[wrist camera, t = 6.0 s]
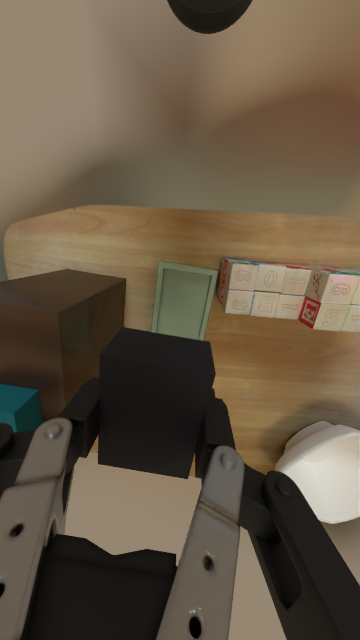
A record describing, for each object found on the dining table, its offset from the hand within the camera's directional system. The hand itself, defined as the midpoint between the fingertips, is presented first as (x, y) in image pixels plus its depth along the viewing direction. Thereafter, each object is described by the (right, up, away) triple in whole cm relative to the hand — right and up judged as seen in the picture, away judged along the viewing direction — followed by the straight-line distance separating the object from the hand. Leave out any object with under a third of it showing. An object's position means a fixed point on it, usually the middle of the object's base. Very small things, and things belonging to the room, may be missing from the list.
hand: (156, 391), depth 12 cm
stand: (-14, +5, +25) cm, 29 cm away
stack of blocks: (+18, +10, +21) cm, 29 cm away
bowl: (+31, -22, +32) cm, 49 cm away
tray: (+1, +5, +23) cm, 24 cm away
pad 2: (0, 0, +1) cm, 1 cm away
